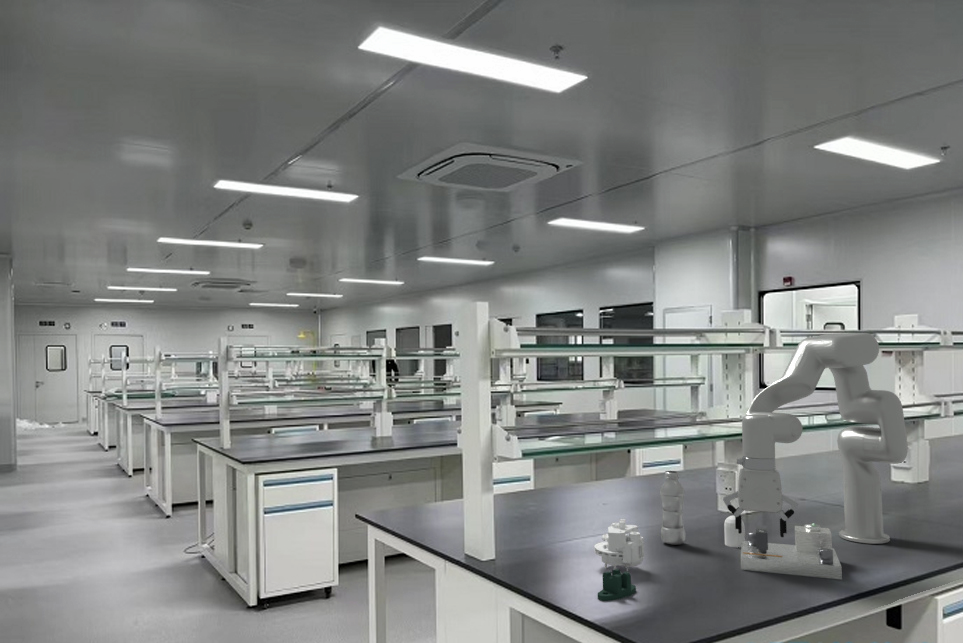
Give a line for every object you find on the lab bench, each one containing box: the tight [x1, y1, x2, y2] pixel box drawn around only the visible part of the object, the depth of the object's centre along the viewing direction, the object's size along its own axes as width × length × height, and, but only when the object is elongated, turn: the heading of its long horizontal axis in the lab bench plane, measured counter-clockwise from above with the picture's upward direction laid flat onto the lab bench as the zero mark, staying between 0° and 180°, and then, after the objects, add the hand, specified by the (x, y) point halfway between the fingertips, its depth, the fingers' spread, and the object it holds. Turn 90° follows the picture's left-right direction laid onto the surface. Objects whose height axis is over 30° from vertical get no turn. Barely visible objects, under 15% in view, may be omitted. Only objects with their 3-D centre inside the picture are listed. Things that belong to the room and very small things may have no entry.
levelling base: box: [740, 522, 843, 580], centre depth 169 cm, size 16×22×10 cm
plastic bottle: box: [659, 470, 687, 546], centre depth 190 cm, size 6×7×20 cm
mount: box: [597, 568, 637, 602], centre depth 149 cm, size 11×4×5 cm, turn 126°
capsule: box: [723, 515, 746, 548], centre depth 188 cm, size 5×5×8 cm
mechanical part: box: [593, 518, 645, 572], centre depth 167 cm, size 11×12×12 cm
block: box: [755, 524, 769, 554], centre depth 168 cm, size 8×3×6 cm, turn 158°
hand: (760, 534), depth 168 cm, fingers open, 9 cm apart
